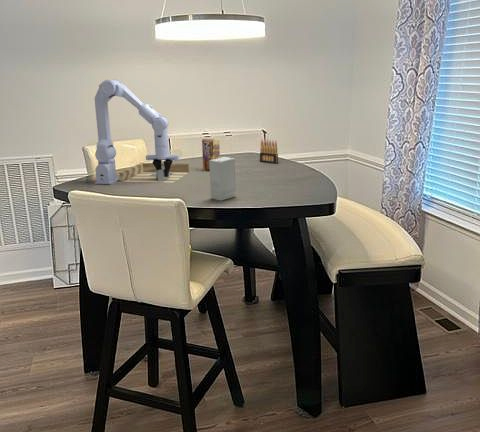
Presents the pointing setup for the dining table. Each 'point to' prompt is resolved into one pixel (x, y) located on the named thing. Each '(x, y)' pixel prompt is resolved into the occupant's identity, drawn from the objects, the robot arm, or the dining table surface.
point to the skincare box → (222, 178)
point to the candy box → (210, 152)
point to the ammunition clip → (269, 152)
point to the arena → (152, 173)
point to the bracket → (161, 174)
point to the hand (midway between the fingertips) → (163, 176)
